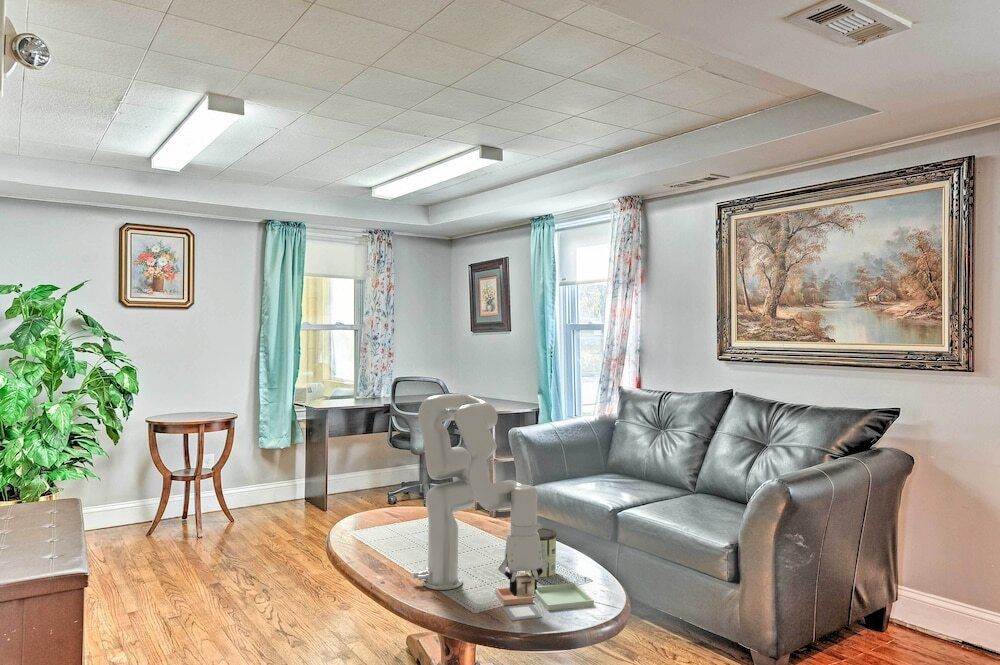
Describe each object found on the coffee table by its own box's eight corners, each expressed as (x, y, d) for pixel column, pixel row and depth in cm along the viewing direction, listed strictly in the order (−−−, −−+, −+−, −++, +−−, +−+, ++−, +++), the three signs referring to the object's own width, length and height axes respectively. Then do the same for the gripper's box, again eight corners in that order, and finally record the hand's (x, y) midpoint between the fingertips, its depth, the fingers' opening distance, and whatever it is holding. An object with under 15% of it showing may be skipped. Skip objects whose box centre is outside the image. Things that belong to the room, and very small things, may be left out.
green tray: (547, 612, 202) (547, 605, 201) (531, 593, 215) (531, 586, 215) (593, 607, 206) (593, 600, 206) (574, 589, 219) (574, 582, 219)
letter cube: (517, 597, 196) (517, 579, 196) (512, 591, 201) (512, 573, 201) (534, 596, 197) (534, 578, 197) (528, 589, 202) (528, 572, 202)
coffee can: (525, 568, 237) (526, 527, 237) (555, 570, 236) (556, 528, 236) (523, 579, 227) (524, 536, 227) (555, 581, 226) (556, 537, 226)
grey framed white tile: (511, 622, 194) (511, 619, 194) (502, 609, 202) (502, 607, 202) (542, 619, 196) (542, 616, 196) (531, 606, 205) (531, 604, 205)
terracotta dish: (503, 606, 205) (503, 600, 205) (495, 595, 213) (495, 588, 213) (532, 603, 207) (532, 597, 207) (523, 592, 216) (523, 586, 216)
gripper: (547, 523, 205) (546, 585, 205) (491, 528, 200) (490, 591, 200) (556, 530, 198) (555, 595, 198) (498, 535, 193) (498, 601, 193)
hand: (523, 592), depth 199 cm, fingers closed on letter cube, 5 cm apart
